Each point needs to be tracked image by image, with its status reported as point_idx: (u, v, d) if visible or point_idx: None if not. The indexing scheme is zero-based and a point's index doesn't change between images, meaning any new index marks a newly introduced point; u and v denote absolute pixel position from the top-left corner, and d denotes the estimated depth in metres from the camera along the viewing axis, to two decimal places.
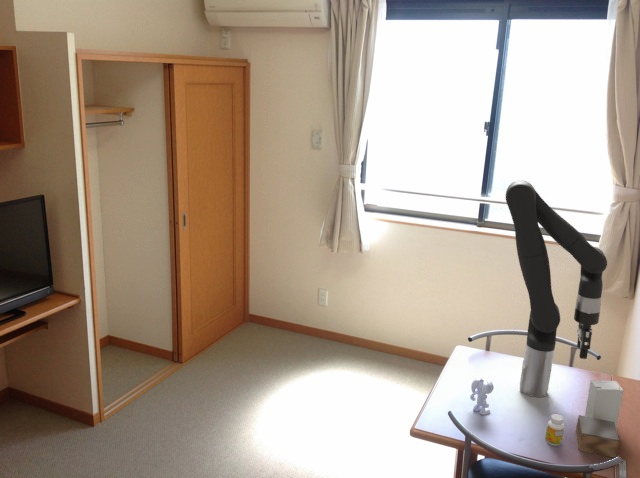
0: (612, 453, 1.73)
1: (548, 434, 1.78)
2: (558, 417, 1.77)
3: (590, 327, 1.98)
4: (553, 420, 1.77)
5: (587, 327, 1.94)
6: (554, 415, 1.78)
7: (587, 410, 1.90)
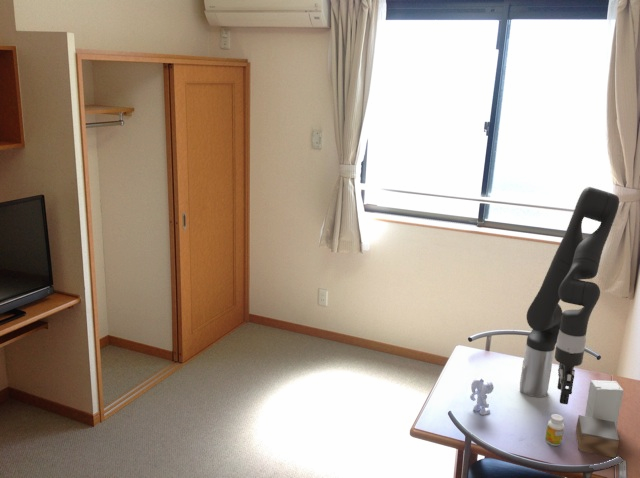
0: (612, 453, 1.73)
1: (548, 434, 1.78)
2: (558, 417, 1.77)
3: (572, 368, 1.73)
4: (553, 420, 1.77)
5: (569, 368, 1.69)
6: (554, 415, 1.78)
7: (587, 410, 1.90)
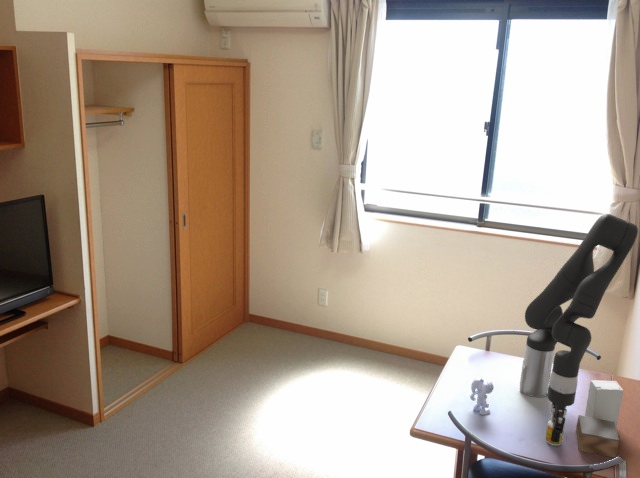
0: (612, 453, 1.73)
1: (548, 434, 1.78)
2: None
3: None
4: None
5: (561, 408, 1.73)
6: None
7: (587, 410, 1.90)
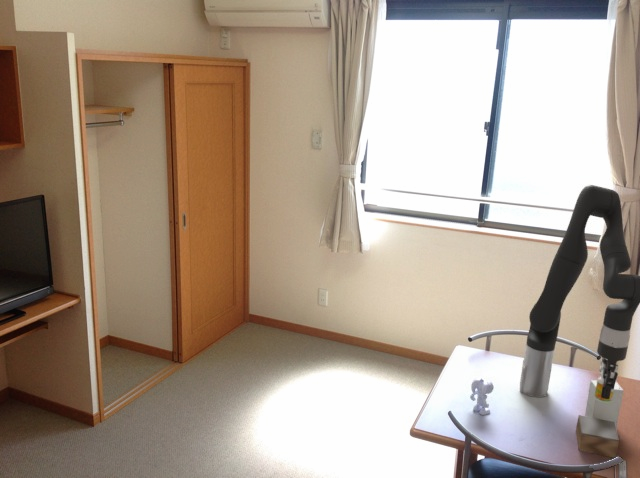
0: (612, 453, 1.73)
1: (598, 391, 1.73)
2: None
3: (615, 362, 1.72)
4: None
5: (613, 363, 1.68)
6: None
7: (587, 410, 1.90)
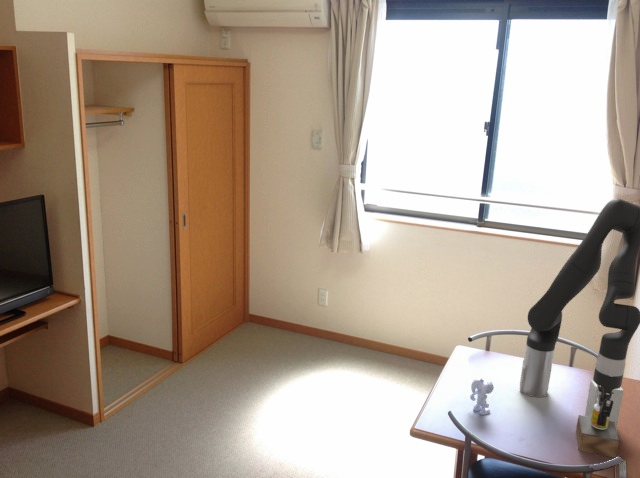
0: (612, 453, 1.73)
1: (594, 418, 1.76)
2: None
3: None
4: None
5: (608, 391, 1.70)
6: None
7: (587, 410, 1.90)
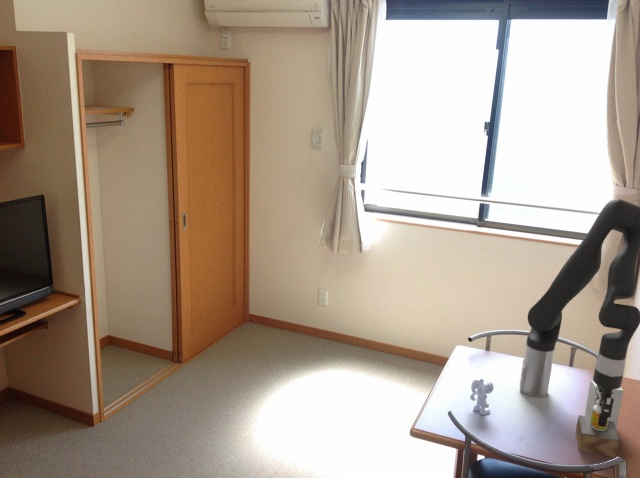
0: (612, 453, 1.73)
1: (594, 419, 1.76)
2: None
3: None
4: None
5: (608, 391, 1.70)
6: None
7: (587, 410, 1.90)
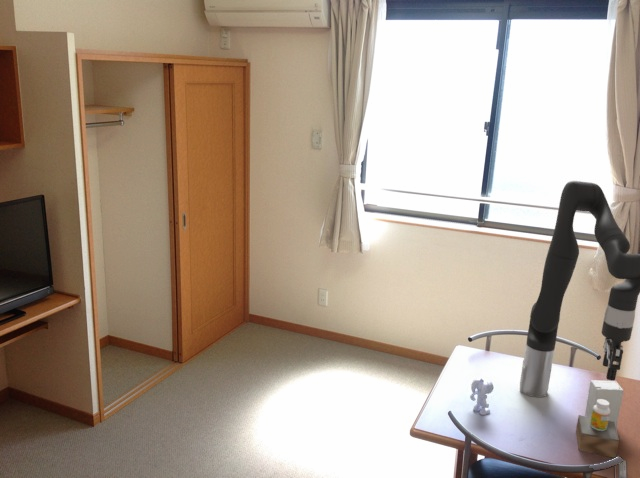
0: (612, 453, 1.73)
1: (594, 419, 1.76)
2: (604, 402, 1.75)
3: None
4: (599, 405, 1.75)
5: (617, 344, 1.66)
6: (599, 400, 1.76)
7: (587, 410, 1.90)
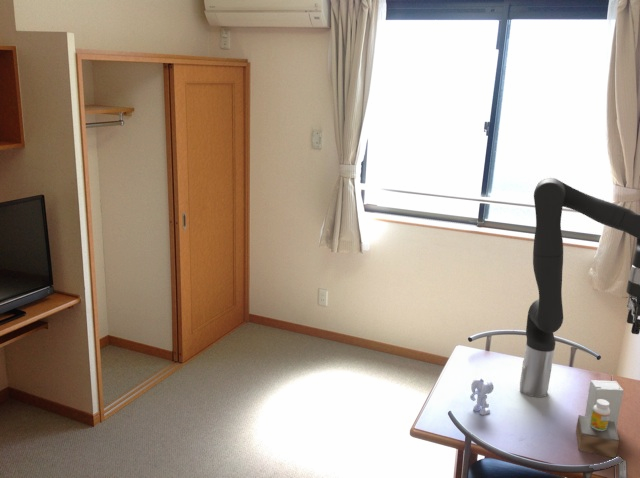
0: (612, 453, 1.73)
1: (594, 419, 1.76)
2: (604, 402, 1.75)
3: None
4: (599, 405, 1.75)
5: None
6: (599, 400, 1.76)
7: (587, 410, 1.89)
